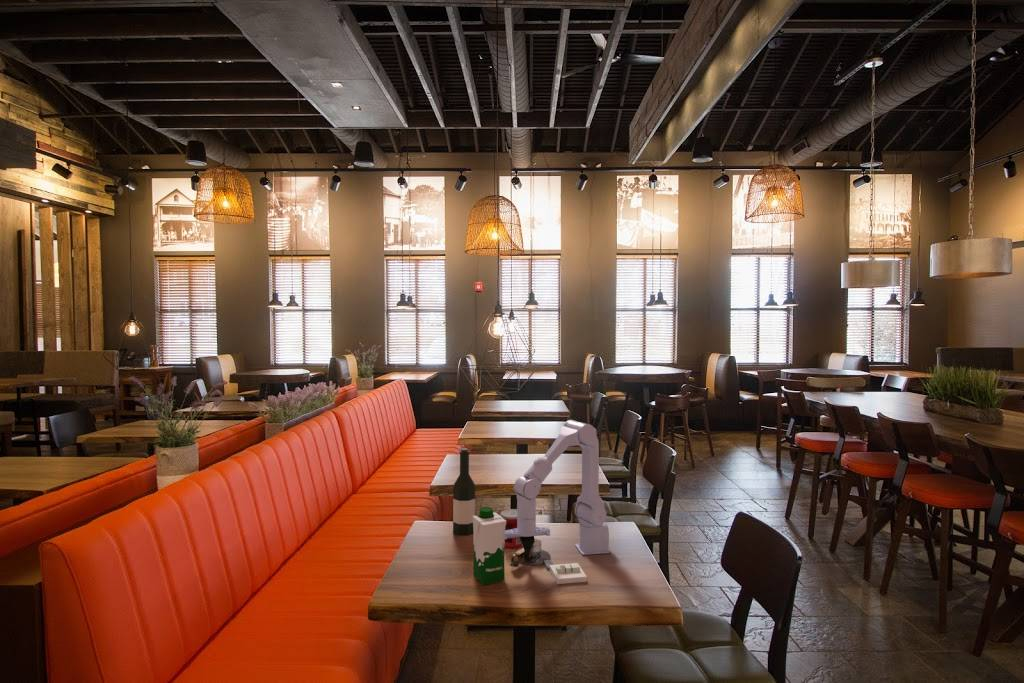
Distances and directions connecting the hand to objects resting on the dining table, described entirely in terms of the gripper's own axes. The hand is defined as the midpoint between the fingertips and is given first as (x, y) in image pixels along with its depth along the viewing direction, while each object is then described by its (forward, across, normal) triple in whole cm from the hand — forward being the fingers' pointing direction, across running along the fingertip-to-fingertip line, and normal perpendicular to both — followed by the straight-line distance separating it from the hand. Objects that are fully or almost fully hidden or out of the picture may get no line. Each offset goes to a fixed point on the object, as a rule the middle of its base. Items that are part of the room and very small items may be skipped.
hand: (526, 559), depth 169 cm
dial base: (+3, -4, -5) cm, 6 cm away
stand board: (+3, -11, +7) cm, 13 cm away
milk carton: (+3, +12, +4) cm, 13 cm away
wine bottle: (+3, +16, -32) cm, 36 cm away
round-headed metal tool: (+2, 0, -3) cm, 4 cm away
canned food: (+3, +1, -17) cm, 18 cm away
